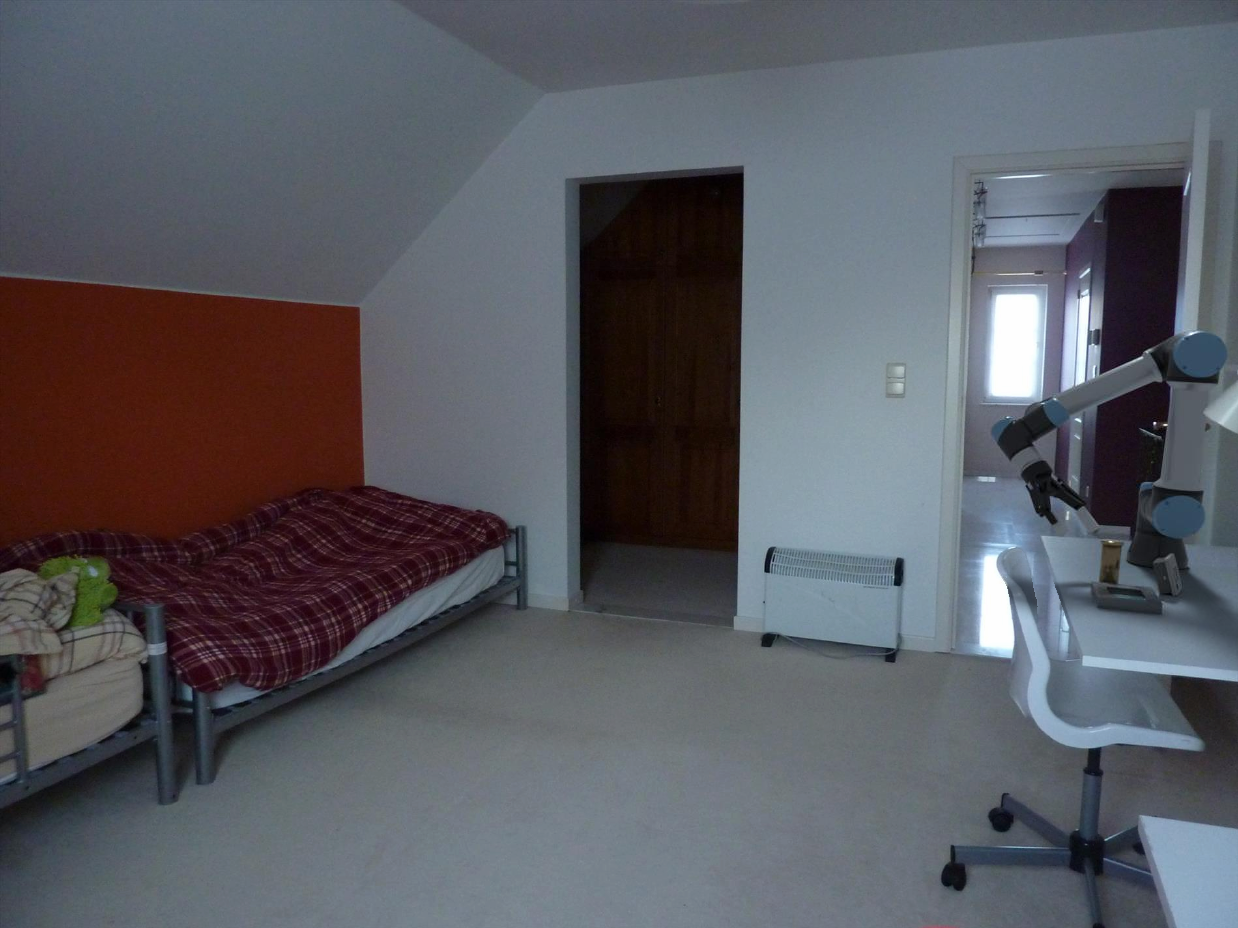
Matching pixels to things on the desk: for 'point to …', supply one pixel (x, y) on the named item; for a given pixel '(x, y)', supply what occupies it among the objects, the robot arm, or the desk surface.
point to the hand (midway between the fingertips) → (1079, 531)
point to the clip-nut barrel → (1110, 561)
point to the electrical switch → (1167, 575)
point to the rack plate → (1126, 597)
